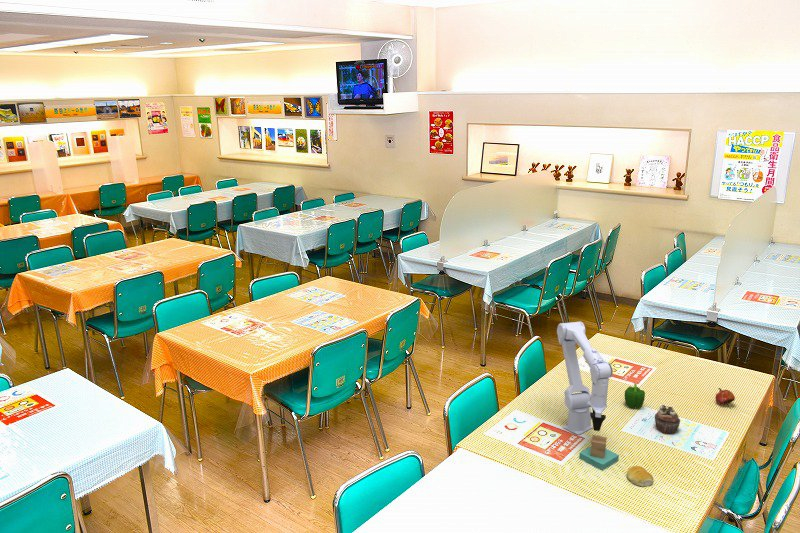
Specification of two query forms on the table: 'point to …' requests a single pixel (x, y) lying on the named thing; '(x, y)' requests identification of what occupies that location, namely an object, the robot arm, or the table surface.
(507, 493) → the table surface
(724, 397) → the pomegranate
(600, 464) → the teal base
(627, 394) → the bell pepper
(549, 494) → the table surface
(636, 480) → the bread roll
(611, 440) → the table surface
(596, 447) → the walnut block
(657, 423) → the cupcake
